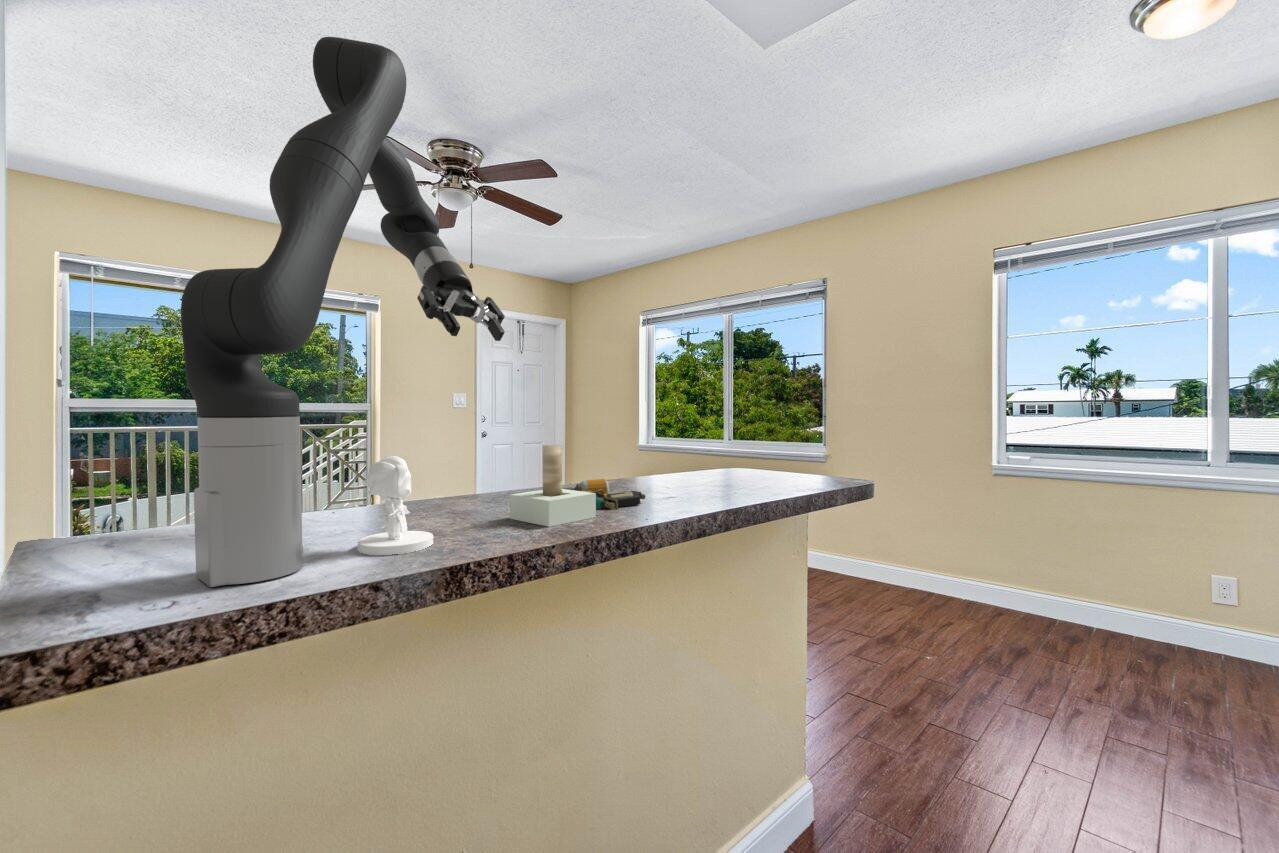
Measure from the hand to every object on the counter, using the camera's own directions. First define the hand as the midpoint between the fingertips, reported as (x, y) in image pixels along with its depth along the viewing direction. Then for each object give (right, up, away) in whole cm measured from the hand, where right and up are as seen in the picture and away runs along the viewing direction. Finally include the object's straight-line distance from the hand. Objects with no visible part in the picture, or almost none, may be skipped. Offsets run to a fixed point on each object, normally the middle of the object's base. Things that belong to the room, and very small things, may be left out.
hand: (479, 334), depth 95 cm
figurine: (-5, -32, -21) cm, 38 cm away
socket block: (+13, -31, -2) cm, 33 cm away
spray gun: (+19, -31, +13) cm, 38 cm away
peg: (+13, -31, -2) cm, 33 cm away
